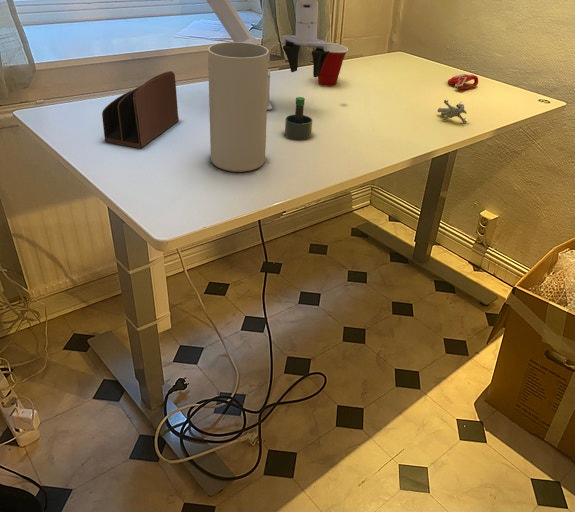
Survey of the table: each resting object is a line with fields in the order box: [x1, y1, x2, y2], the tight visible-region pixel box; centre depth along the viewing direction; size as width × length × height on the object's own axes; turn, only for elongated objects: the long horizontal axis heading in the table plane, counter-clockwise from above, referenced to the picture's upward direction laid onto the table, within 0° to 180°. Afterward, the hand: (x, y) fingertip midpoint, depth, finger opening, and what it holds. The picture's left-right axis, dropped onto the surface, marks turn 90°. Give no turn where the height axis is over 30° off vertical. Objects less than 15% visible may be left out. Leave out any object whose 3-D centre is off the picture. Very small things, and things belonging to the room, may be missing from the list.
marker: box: [294, 96, 306, 124], centre depth 140 cm, size 2×2×9 cm
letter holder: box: [101, 70, 180, 149], centre depth 136 cm, size 10×20×14 cm, turn 163°
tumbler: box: [284, 114, 313, 141], centre depth 142 cm, size 7×7×4 cm
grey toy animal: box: [437, 99, 468, 124], centre depth 156 cm, size 10×6×9 cm
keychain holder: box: [447, 73, 479, 90], centre depth 184 cm, size 12×4×10 cm
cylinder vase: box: [207, 41, 270, 173], centre depth 121 cm, size 12×12×25 cm
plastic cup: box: [317, 42, 349, 87], centre depth 177 cm, size 11×11×12 cm
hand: (305, 73), depth 153 cm, fingers open, 7 cm apart
